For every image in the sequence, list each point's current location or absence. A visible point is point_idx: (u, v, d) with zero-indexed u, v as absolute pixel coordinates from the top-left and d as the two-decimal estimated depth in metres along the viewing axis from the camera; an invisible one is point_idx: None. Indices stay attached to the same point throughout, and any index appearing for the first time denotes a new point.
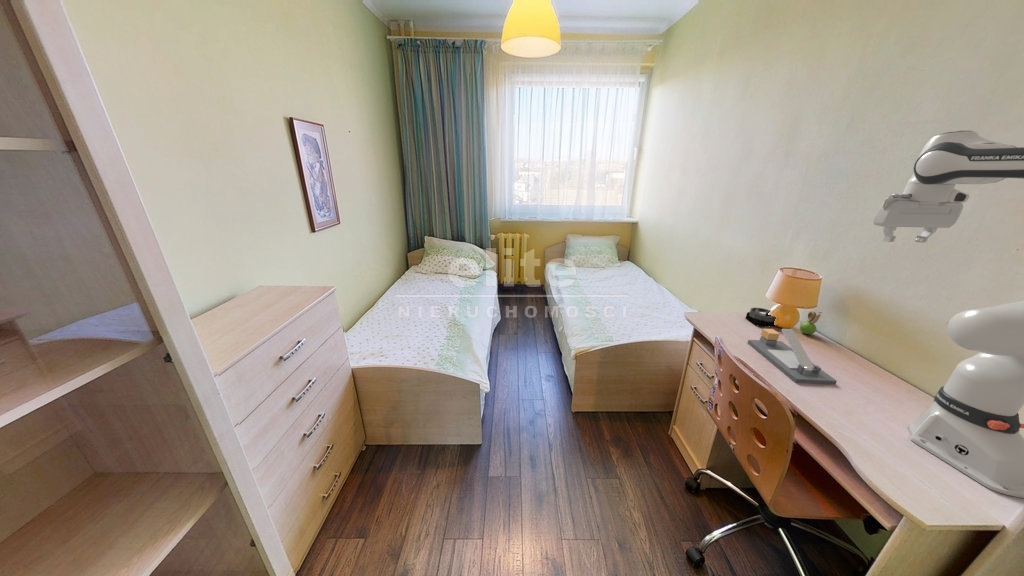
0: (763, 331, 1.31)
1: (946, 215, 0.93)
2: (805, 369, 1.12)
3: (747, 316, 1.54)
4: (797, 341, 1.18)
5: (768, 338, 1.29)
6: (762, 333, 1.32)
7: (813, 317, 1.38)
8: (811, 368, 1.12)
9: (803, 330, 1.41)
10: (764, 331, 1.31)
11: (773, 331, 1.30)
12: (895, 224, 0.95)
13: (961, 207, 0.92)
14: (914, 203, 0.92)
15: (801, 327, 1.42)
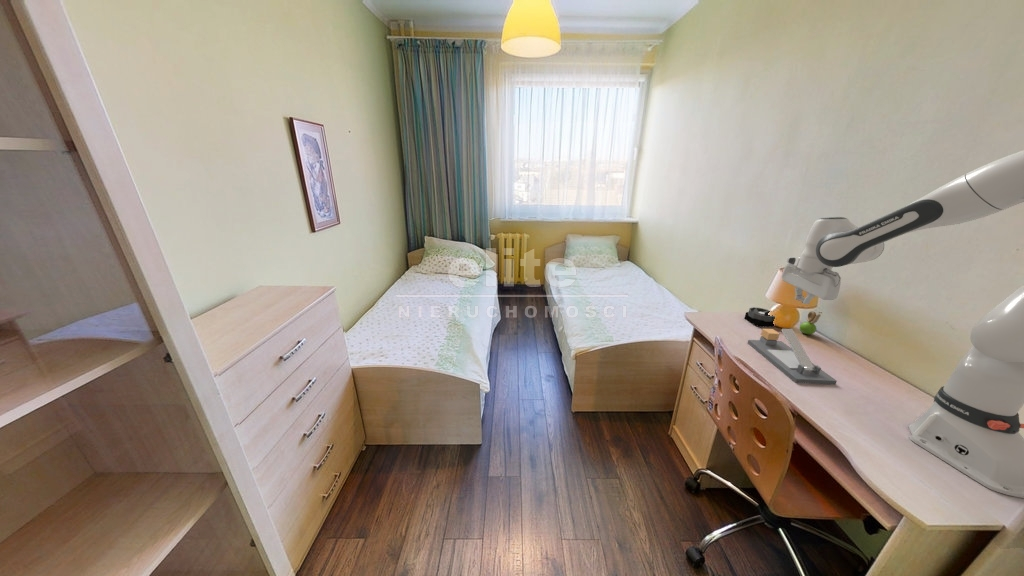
0: (763, 331, 1.31)
1: None
2: (805, 369, 1.12)
3: (746, 316, 1.54)
4: (797, 341, 1.18)
5: (768, 338, 1.29)
6: (762, 333, 1.32)
7: (813, 317, 1.38)
8: (811, 368, 1.12)
9: (803, 330, 1.41)
10: (764, 331, 1.31)
11: (773, 331, 1.30)
12: None
13: None
14: None
15: (801, 327, 1.42)
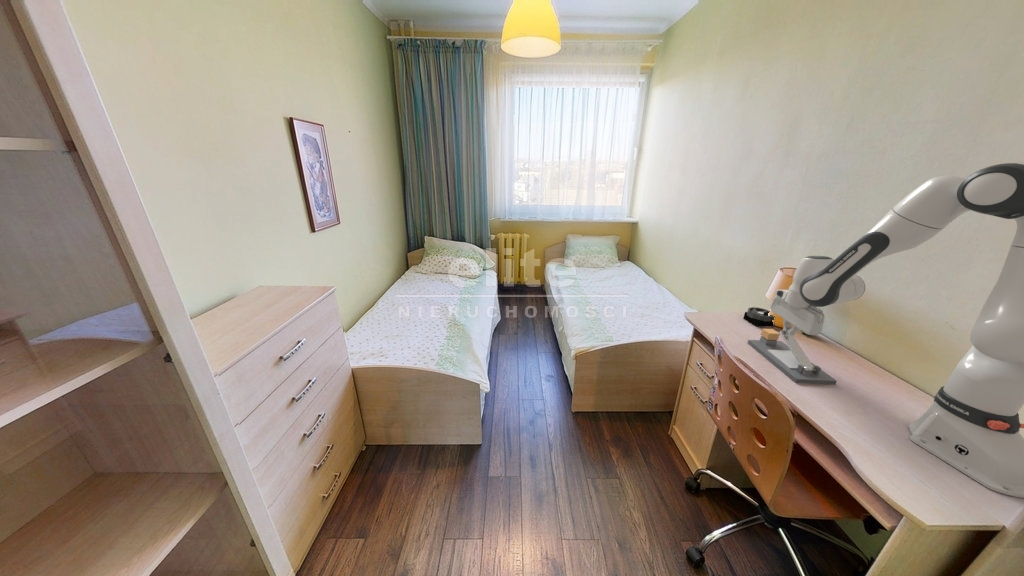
0: (763, 331, 1.31)
1: None
2: (805, 369, 1.12)
3: (745, 316, 1.54)
4: (795, 342, 1.19)
5: (768, 338, 1.29)
6: (762, 333, 1.32)
7: None
8: (811, 368, 1.12)
9: None
10: (764, 331, 1.31)
11: (773, 331, 1.30)
12: None
13: None
14: None
15: None
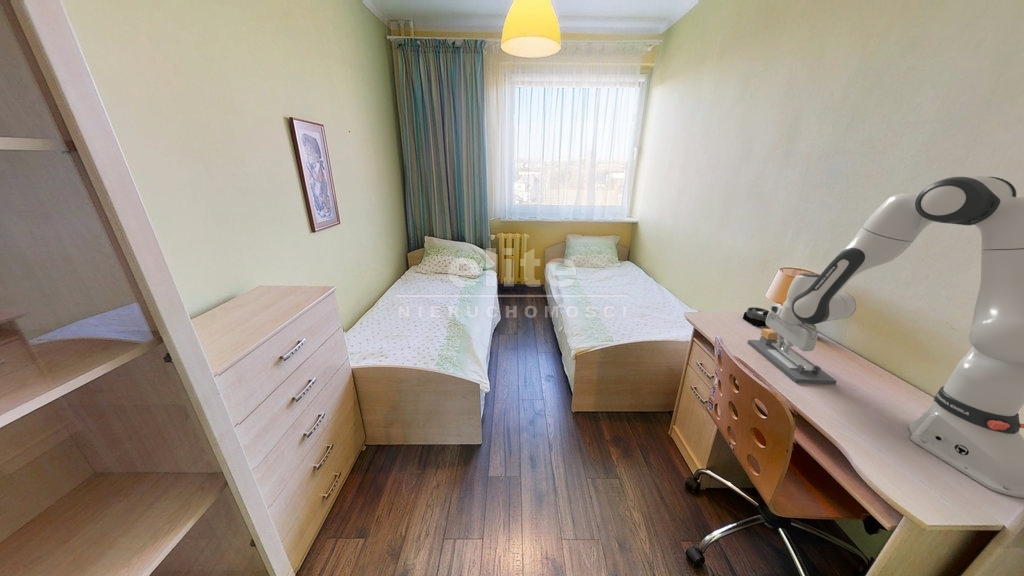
0: (763, 331, 1.31)
1: None
2: (805, 368, 1.12)
3: (744, 316, 1.54)
4: (789, 350, 1.22)
5: (768, 338, 1.29)
6: (762, 333, 1.32)
7: None
8: (810, 367, 1.12)
9: None
10: (764, 331, 1.31)
11: (773, 331, 1.30)
12: None
13: None
14: None
15: None
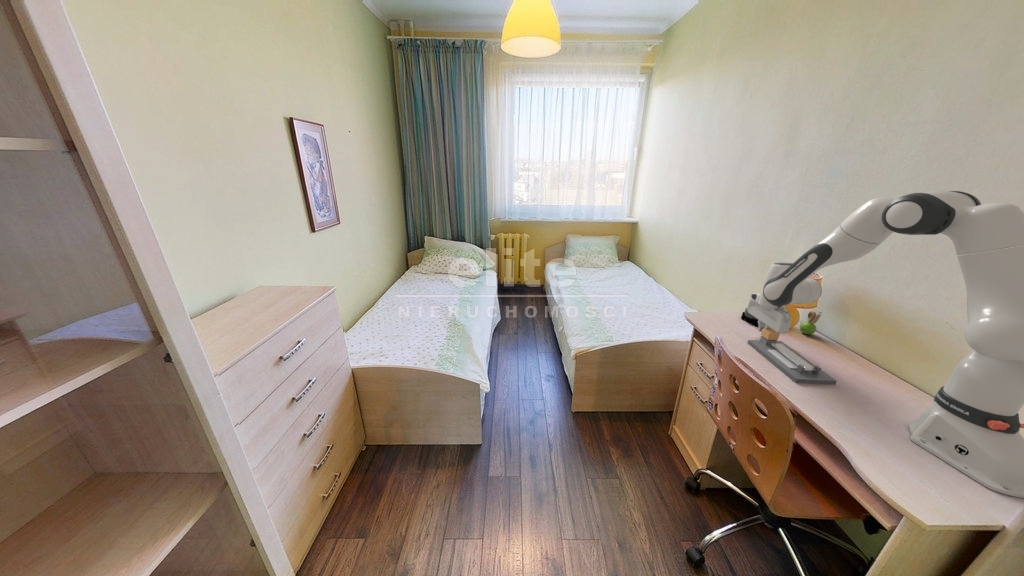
0: (763, 331, 1.31)
1: None
2: (805, 368, 1.12)
3: (743, 316, 1.54)
4: (789, 351, 1.22)
5: (768, 338, 1.29)
6: (762, 333, 1.32)
7: (813, 317, 1.38)
8: (810, 367, 1.12)
9: (803, 330, 1.41)
10: (764, 331, 1.31)
11: (773, 331, 1.30)
12: None
13: None
14: None
15: (801, 327, 1.42)
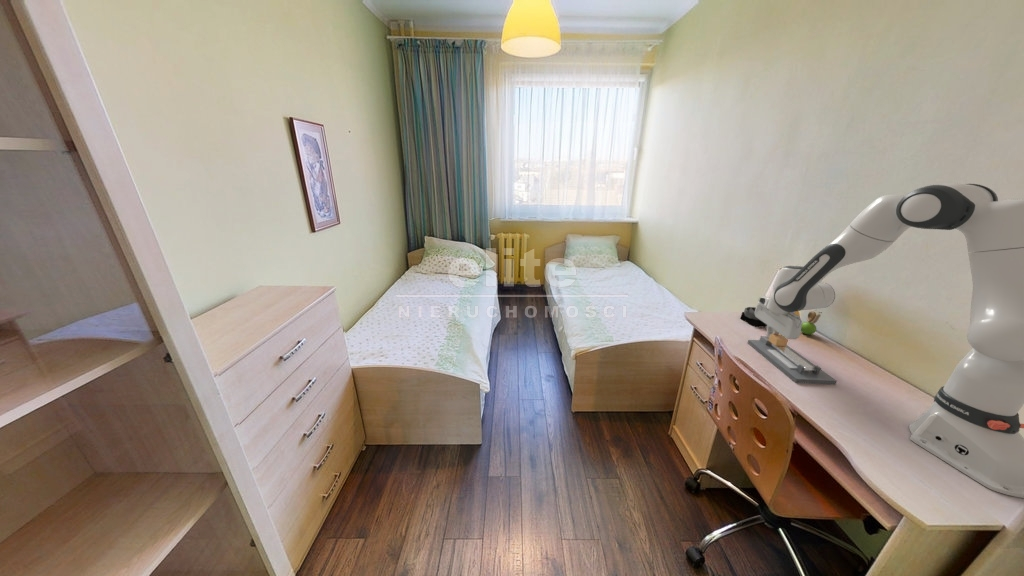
0: (771, 337, 1.27)
1: None
2: (805, 368, 1.12)
3: (742, 316, 1.54)
4: (789, 351, 1.22)
5: (776, 344, 1.25)
6: (770, 339, 1.28)
7: (813, 317, 1.38)
8: (810, 367, 1.12)
9: (803, 330, 1.41)
10: (772, 337, 1.27)
11: (781, 337, 1.25)
12: None
13: None
14: None
15: (801, 327, 1.42)
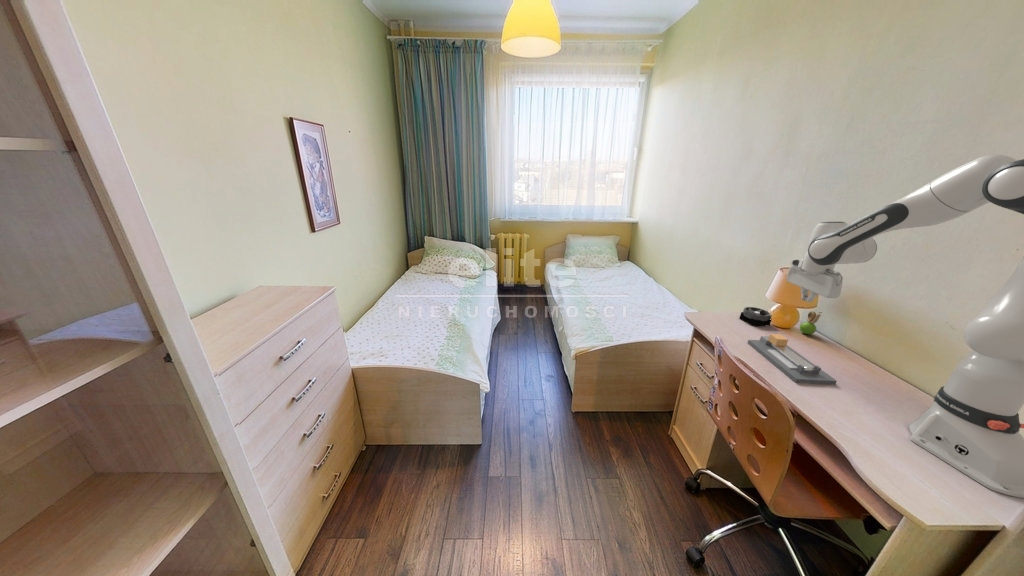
0: (771, 337, 1.27)
1: None
2: (805, 368, 1.12)
3: (741, 316, 1.54)
4: (789, 351, 1.22)
5: (776, 344, 1.25)
6: (770, 339, 1.28)
7: (813, 317, 1.38)
8: (810, 367, 1.12)
9: (803, 330, 1.41)
10: (772, 337, 1.27)
11: (781, 337, 1.25)
12: None
13: None
14: None
15: (801, 327, 1.42)
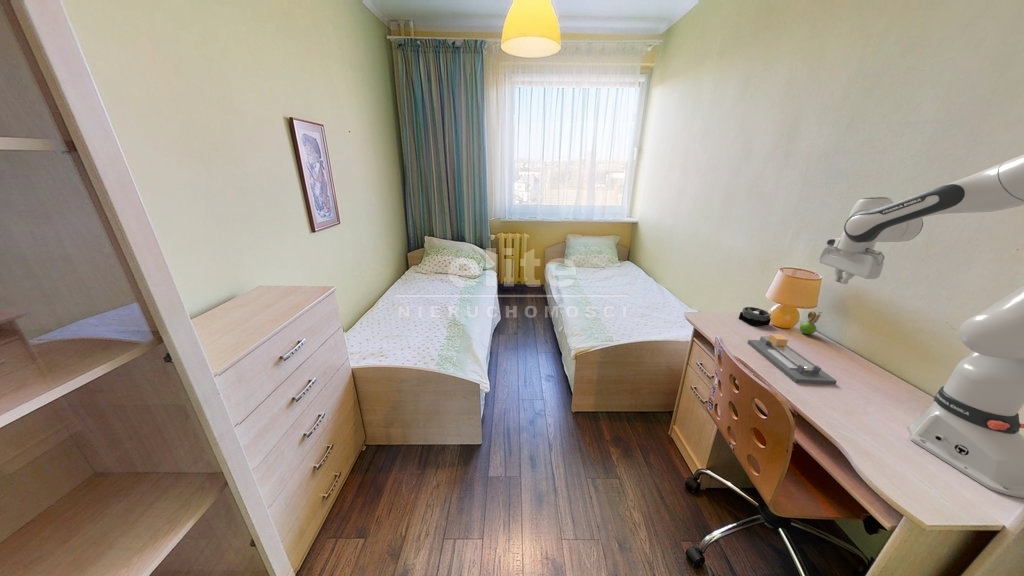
0: (771, 337, 1.27)
1: None
2: (805, 368, 1.12)
3: (741, 316, 1.54)
4: (789, 351, 1.22)
5: (776, 344, 1.25)
6: (770, 339, 1.28)
7: (813, 317, 1.38)
8: (810, 367, 1.12)
9: (803, 330, 1.41)
10: (772, 337, 1.27)
11: (781, 337, 1.25)
12: None
13: None
14: None
15: (801, 327, 1.42)
